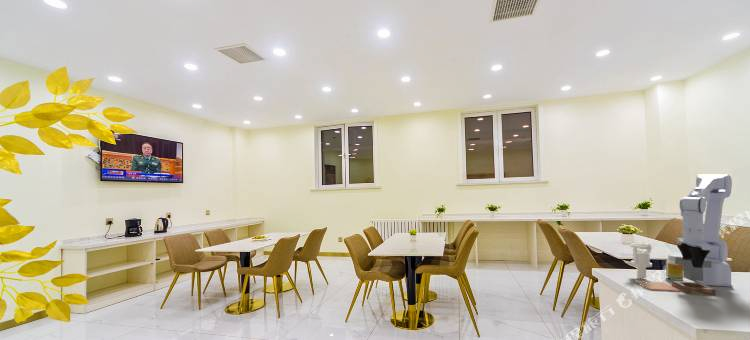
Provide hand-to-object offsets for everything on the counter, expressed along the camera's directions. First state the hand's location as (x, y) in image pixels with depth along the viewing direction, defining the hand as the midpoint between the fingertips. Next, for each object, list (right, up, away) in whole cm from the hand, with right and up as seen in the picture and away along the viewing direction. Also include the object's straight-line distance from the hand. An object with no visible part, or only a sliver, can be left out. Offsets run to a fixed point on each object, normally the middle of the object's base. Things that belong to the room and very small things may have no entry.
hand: (693, 265), depth 133 cm
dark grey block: (0, -5, 0) cm, 5 cm away
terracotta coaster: (-11, -9, +4) cm, 14 cm away
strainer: (-8, -10, +15) cm, 20 cm away
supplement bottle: (+6, -10, +15) cm, 19 cm away
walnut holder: (0, -9, 0) cm, 9 cm away
